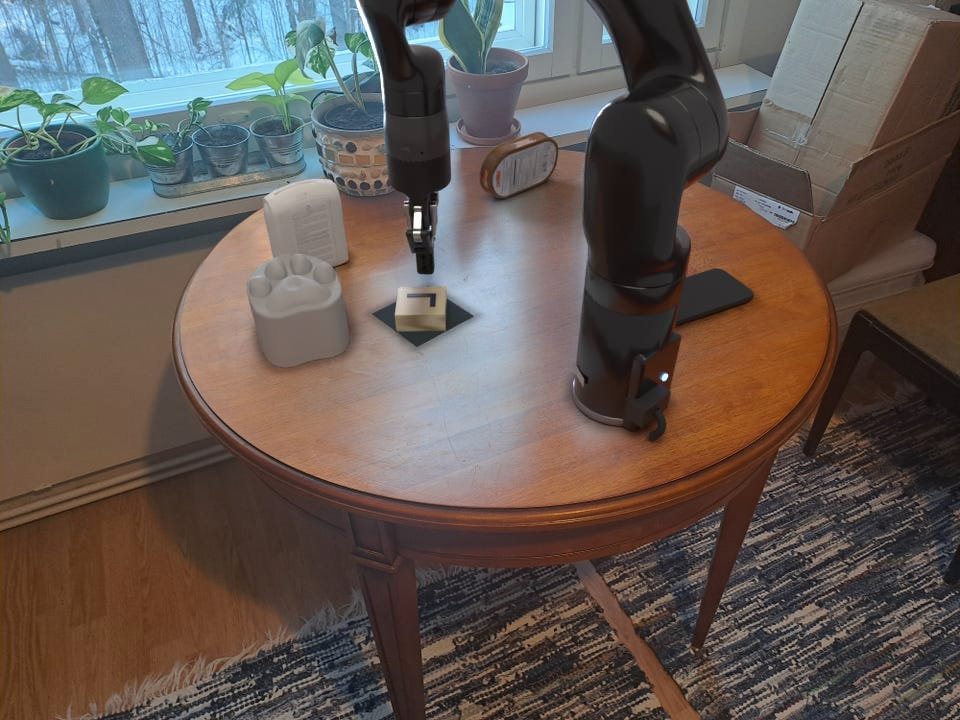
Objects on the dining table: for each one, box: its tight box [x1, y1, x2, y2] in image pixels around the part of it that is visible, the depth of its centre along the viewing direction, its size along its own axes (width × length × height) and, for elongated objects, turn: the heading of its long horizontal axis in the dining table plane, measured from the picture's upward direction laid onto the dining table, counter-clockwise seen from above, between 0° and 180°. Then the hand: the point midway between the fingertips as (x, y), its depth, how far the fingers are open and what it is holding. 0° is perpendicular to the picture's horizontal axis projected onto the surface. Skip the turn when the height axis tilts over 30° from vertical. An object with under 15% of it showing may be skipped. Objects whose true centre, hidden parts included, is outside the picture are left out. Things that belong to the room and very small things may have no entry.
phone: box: [675, 268, 755, 327], centre depth 90 cm, size 7×1×15 cm
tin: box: [479, 131, 559, 199], centre depth 112 cm, size 15×3×8 cm, turn 130°
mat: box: [372, 285, 474, 347], centre depth 89 cm, size 9×9×1 cm
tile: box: [395, 285, 448, 332], centre depth 87 cm, size 6×6×3 cm
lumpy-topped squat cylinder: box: [246, 253, 351, 369], centre depth 84 cm, size 10×13×9 cm
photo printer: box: [262, 178, 349, 268], centre depth 93 cm, size 10×4×12 cm, turn 123°
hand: (426, 271), depth 93 cm, fingers closed
